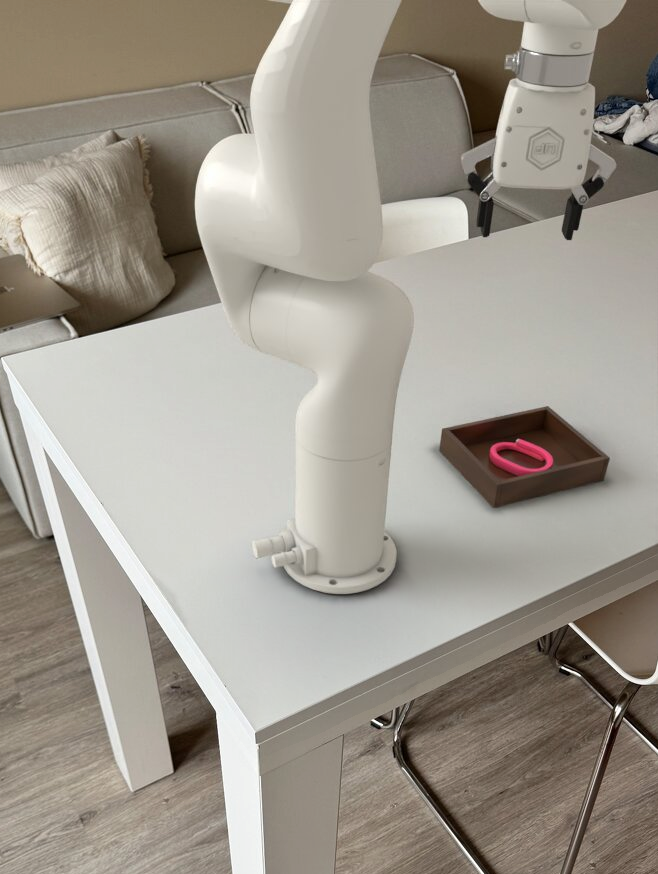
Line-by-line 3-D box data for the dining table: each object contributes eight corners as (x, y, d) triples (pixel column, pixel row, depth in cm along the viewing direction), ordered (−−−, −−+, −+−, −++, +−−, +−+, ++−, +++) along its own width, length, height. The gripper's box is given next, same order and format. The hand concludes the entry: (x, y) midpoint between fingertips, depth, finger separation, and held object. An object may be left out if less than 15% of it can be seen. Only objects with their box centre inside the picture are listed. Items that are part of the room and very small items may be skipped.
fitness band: (560, 465, 112) (562, 455, 111) (537, 485, 108) (539, 475, 107) (504, 442, 115) (506, 432, 114) (480, 461, 112) (482, 450, 111)
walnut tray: (493, 508, 105) (497, 485, 103) (438, 450, 114) (441, 428, 112) (603, 480, 110) (610, 457, 108) (543, 427, 119) (548, 405, 117)
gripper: (474, 74, 91) (454, 244, 102) (644, 79, 90) (605, 249, 102) (468, 58, 96) (449, 221, 108) (628, 63, 96) (592, 226, 107)
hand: (525, 234), depth 105 cm, fingers open, 9 cm apart
